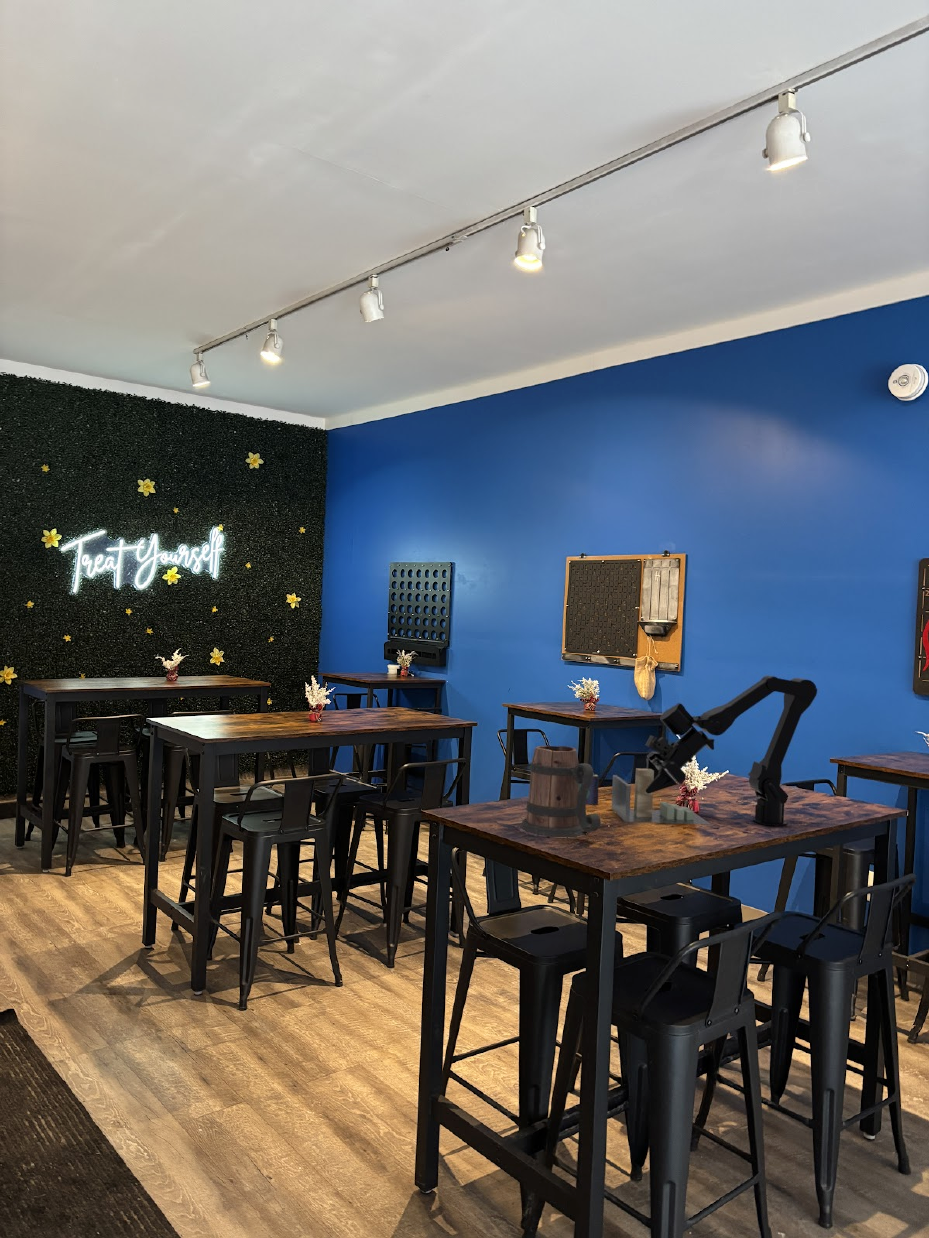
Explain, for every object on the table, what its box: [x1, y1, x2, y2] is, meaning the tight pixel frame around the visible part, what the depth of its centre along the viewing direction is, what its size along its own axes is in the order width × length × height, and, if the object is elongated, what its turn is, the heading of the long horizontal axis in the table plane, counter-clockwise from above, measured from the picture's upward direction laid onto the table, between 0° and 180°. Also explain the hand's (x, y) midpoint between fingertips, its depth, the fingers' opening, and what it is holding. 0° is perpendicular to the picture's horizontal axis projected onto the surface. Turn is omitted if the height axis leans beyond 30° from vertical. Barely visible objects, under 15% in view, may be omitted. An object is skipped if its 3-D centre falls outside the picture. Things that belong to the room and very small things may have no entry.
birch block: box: [633, 767, 654, 817], centre depth 242 cm, size 4×3×12 cm
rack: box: [611, 774, 712, 825], centre depth 242 cm, size 22×16×10 cm
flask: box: [579, 769, 600, 806], centre depth 256 cm, size 9×3×11 cm, turn 65°
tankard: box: [519, 745, 602, 838], centre depth 222 cm, size 24×17×20 cm
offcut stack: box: [659, 801, 695, 820], centre depth 242 cm, size 7×7×3 cm
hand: (642, 788), depth 242 cm, fingers open, 9 cm apart
